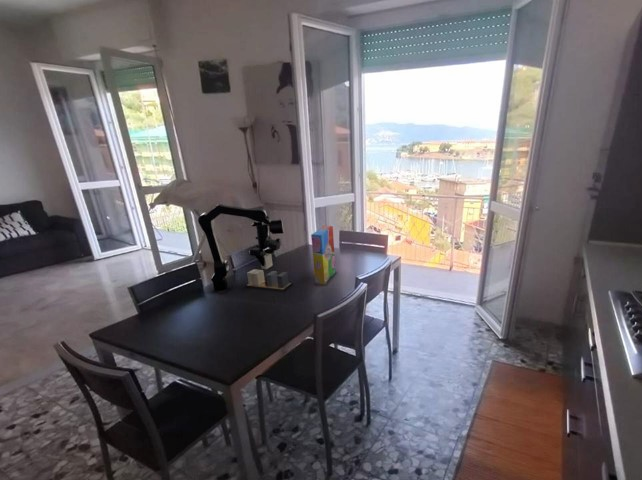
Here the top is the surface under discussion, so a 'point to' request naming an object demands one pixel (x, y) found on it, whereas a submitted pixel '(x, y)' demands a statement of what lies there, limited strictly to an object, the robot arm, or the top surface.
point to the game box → (323, 254)
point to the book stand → (267, 286)
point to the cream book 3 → (267, 261)
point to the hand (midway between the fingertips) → (266, 264)
